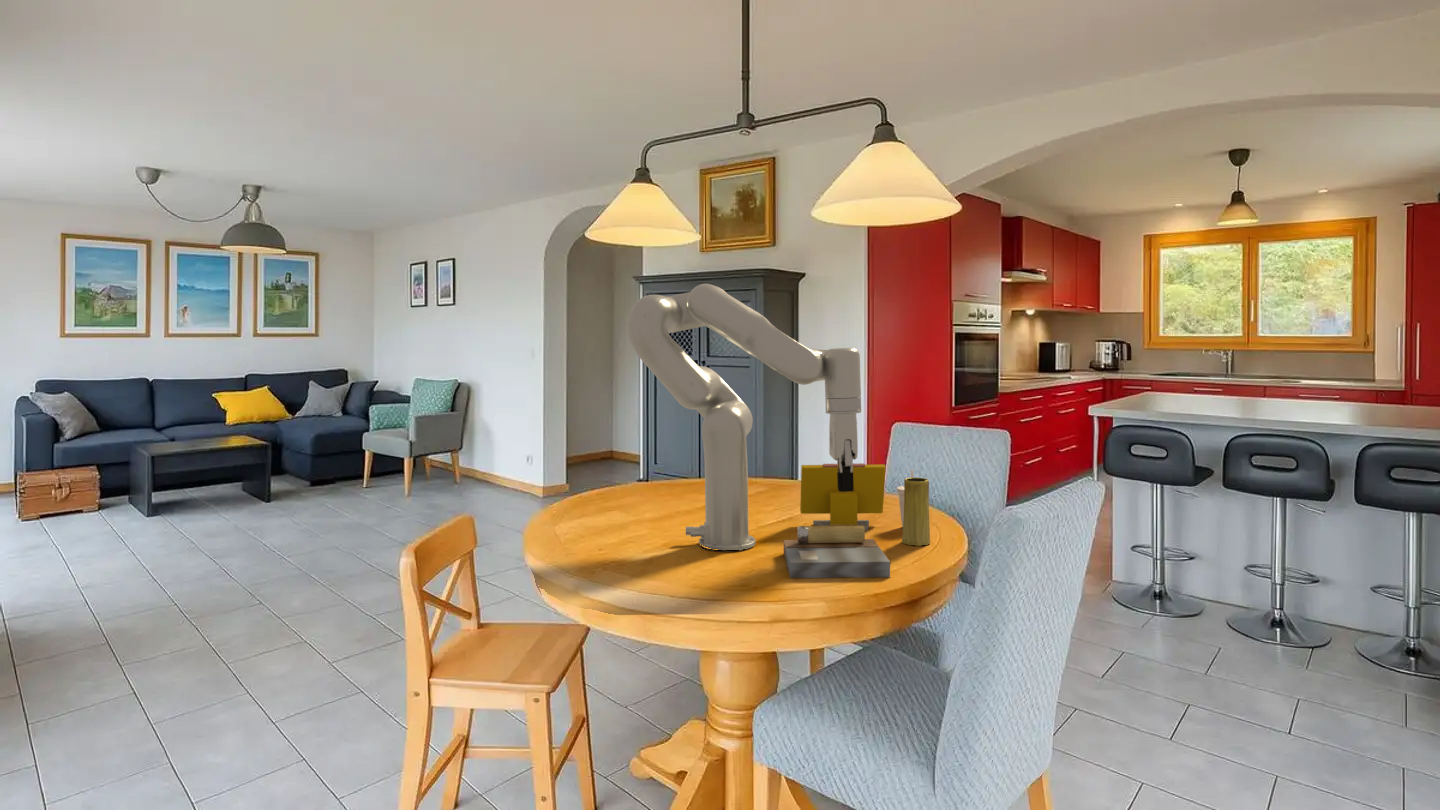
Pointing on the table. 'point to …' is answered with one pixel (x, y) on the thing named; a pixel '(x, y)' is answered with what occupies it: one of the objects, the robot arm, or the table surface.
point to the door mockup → (835, 559)
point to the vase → (916, 512)
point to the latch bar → (830, 534)
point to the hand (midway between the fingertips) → (845, 490)
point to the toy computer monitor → (842, 493)
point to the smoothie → (902, 498)
